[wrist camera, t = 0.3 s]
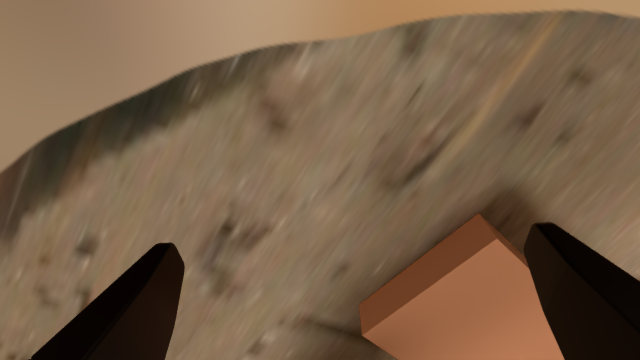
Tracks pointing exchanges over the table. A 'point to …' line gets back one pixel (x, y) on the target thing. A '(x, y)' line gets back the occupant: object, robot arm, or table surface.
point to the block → (462, 304)
